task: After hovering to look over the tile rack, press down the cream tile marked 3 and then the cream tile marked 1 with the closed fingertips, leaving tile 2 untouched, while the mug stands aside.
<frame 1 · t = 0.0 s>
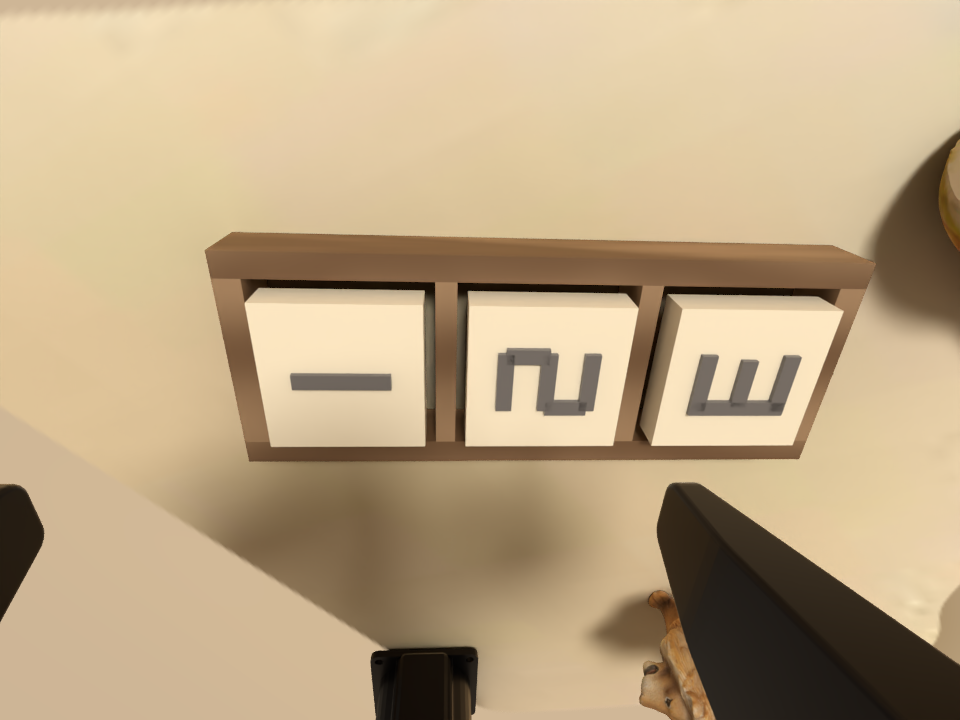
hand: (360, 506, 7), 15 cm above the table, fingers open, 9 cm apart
tile 1: (345, 372, 20), point 3 cm above the table, slide at 0.0 cm
tile 3: (733, 374, 21), point 3 cm above the table, slide at 0.0 cm
tile 2: (544, 373, 20), point 3 cm above the table, slide at 0.0 cm
tile rack: (533, 341, 23), on the table
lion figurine: (684, 610, 32), on the table
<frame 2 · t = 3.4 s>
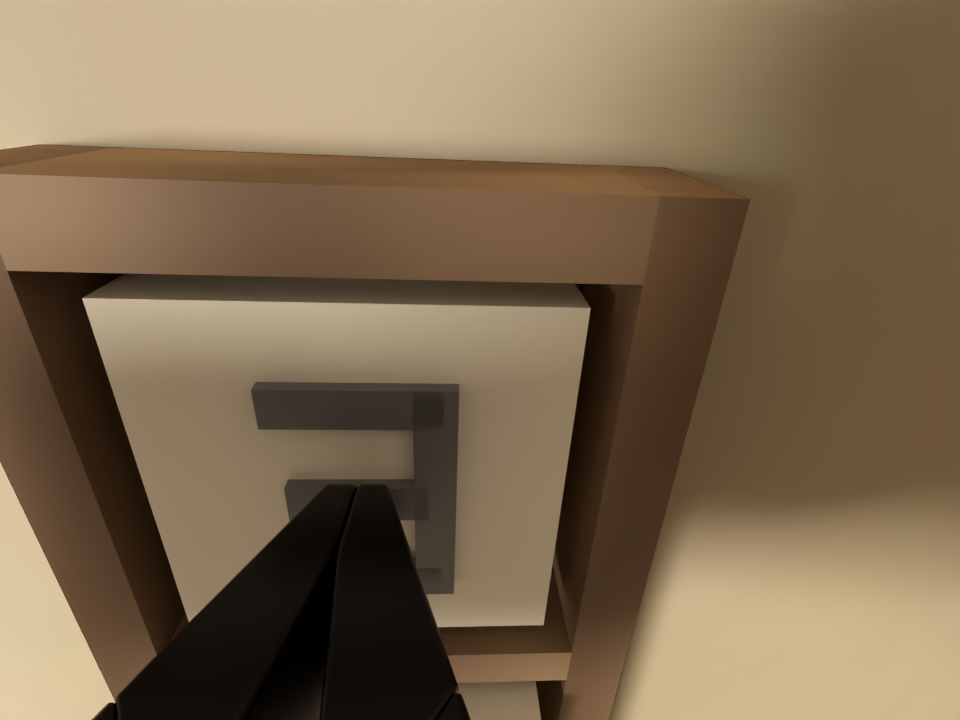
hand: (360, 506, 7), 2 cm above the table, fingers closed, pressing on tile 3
tile 3: (366, 466, 8), point 2 cm above the table, slide at 1.3 cm, touching gripper
tile rack: (393, 665, 13), on the table
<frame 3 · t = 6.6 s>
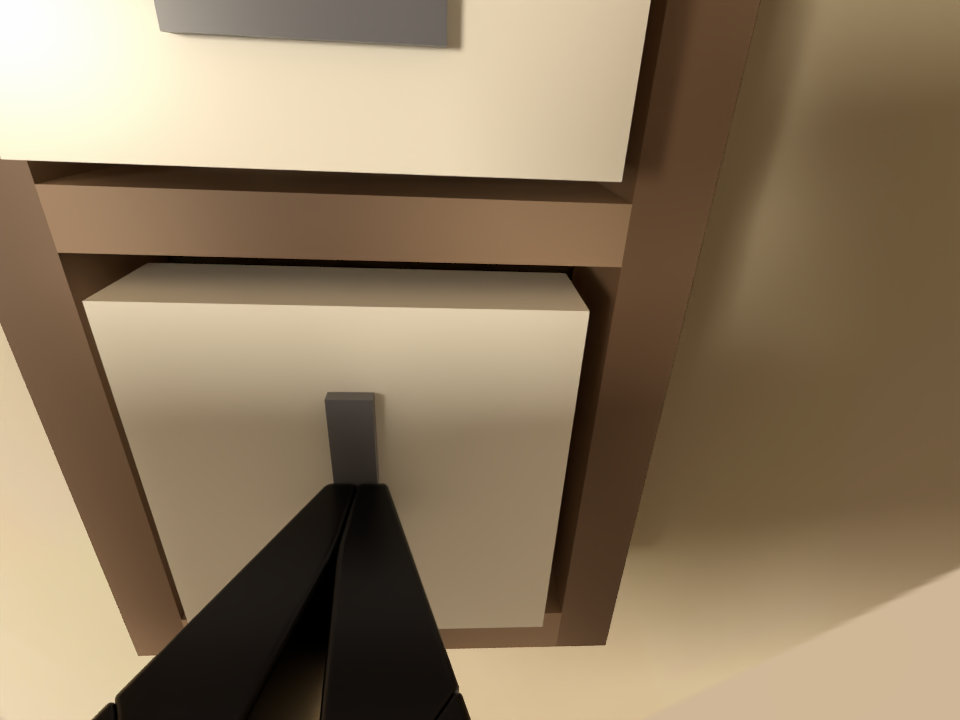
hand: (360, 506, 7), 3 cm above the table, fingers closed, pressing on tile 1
tile 1: (366, 468, 8), point 2 cm above the table, slide at 0.5 cm, touching gripper
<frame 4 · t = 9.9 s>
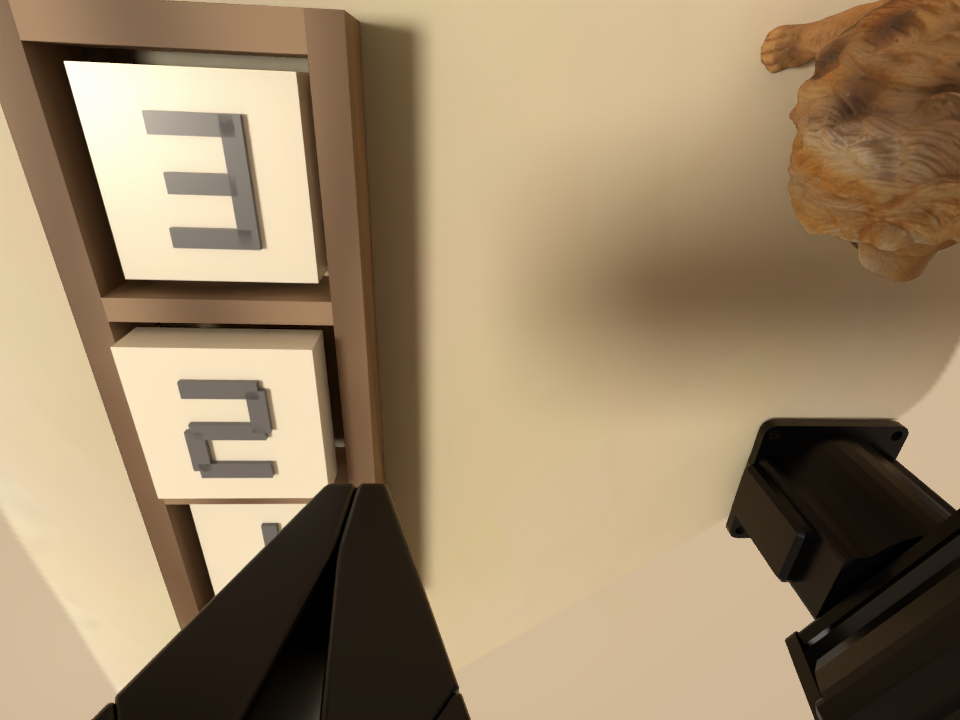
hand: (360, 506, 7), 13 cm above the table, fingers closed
tile 1: (280, 542, 23), point 1 cm above the table, slide at 1.6 cm
tile 3: (212, 180, 16), point 1 cm above the table, slide at 1.6 cm
tile 2: (236, 418, 18), point 3 cm above the table, slide at 0.0 cm
tile rack: (263, 377, 20), on the table
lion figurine: (887, 35, 16), on the table
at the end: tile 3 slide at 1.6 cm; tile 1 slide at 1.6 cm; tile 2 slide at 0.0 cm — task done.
